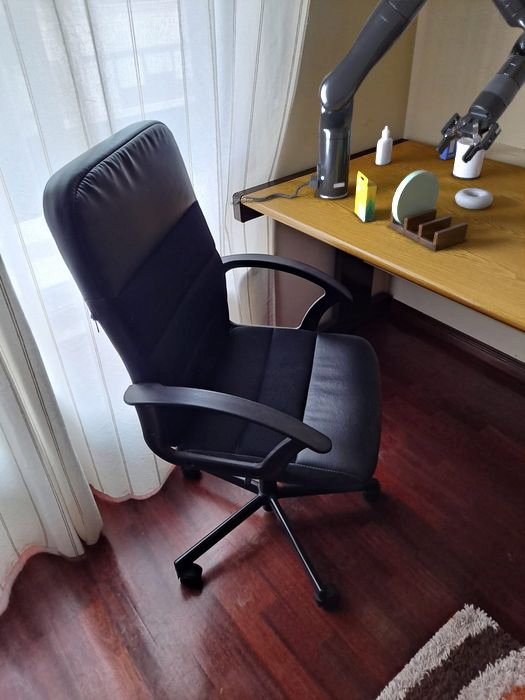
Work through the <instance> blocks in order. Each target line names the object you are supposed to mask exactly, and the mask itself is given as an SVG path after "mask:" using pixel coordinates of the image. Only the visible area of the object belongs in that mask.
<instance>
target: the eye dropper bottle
mask: <svg viewBox="0 0 525 700" xmlns="http://www.w3.org/2000/svg"><path fill="white" fill-rule="evenodd" d="M381 132H382V134H381V138H380V139H379V140H378V141H377V146H376V155H375V165H378V166H385V165H388V164H389V163H391V161H392V152H393V141H394V140H393V138H392V137H390V135H391V130H390V129H389V126H388V125H386V126H385V127H384V129H383V130H382V131H381Z"/></svg>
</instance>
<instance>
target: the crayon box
mask: <svg viewBox="0 0 525 700" xmlns="http://www.w3.org/2000/svg"><path fill="white" fill-rule="evenodd" d="M356 177H357V178H356V188H355V189H356V190H355V205H354V213H355V214H356V215H357V216H358V217H359V218H360V219H361V221H362V222H363V223H366V222H372V221H374V218H375V210H376V209H375V208H376V199H377V188H378V185H377V184H376V183H374V182H373V181H372V180H371V179H370V178H368V177H367V176H365V175H364V174H363V173H362V172H361V171H360V170H358V172H357V176H356Z"/></svg>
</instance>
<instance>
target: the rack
mask: <svg viewBox="0 0 525 700" xmlns="http://www.w3.org/2000/svg"><path fill="white" fill-rule="evenodd" d="M437 215H438V208H437V209H436V208H433V209H432V210H428V211H425V212H422V213H419V214H415V215H412V216H409V217H406V218H405V221H404V226H403V225H402V224H400V223H398V222H397V221H396V220H395V218H394V216H393V212H392V210H391V211H390V219H389V228H390V229H392V230H394V231H396V232H398V233H400V234H402V235H403V236H406V237H407V238H409V239H412V240H413V241H415V242H417V243H419V244H421V245H422V246H425V247H427V248H429V249H431V250H432V251H434V252H436V251H438V250H441V249H444V248H447V247H451V246H453V245H456V244H458V243H461V242H464V241H465V240H466V236H467V231H468V227H469V223H468V222H466V221H465V222H462V223H459V224H456V225H453V226H451V225H452V221H453V215H450V214H449V215H446V216H443V217H442V216H441V217H439V218H437ZM432 239H433V240H432Z"/></svg>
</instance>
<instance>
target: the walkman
mask: <svg viewBox="0 0 525 700" xmlns="http://www.w3.org/2000/svg"><path fill="white" fill-rule="evenodd" d="M447 123H448V121H446V122H445V123H444V124H445V125H446V124H447ZM445 125H444V126H445ZM448 130H449V128H448ZM448 130H447V131H448ZM458 132H460V129H458ZM453 135H454V134H452V135H451V136H453ZM443 138H444V137H443V136H442V139H443ZM463 138H465V137H461V138H459V139H463ZM459 139H458V138H457V139H455V140H453V141H451V142H450V144H449V146H448V147H447V148H446V150H445V151H444V152H443V154H441V155H440V154H439V159H442V160H450V159H453V158H456V152H457V142H458V140H459Z"/></svg>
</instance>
